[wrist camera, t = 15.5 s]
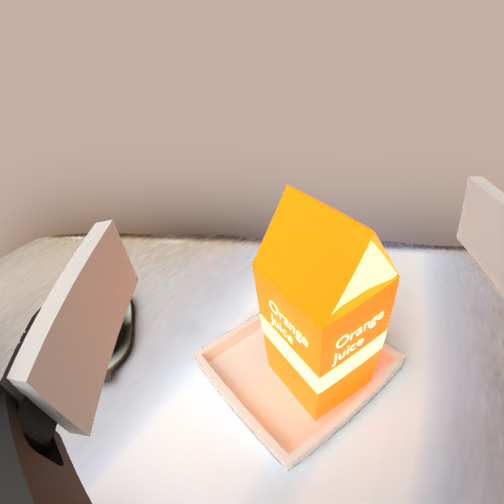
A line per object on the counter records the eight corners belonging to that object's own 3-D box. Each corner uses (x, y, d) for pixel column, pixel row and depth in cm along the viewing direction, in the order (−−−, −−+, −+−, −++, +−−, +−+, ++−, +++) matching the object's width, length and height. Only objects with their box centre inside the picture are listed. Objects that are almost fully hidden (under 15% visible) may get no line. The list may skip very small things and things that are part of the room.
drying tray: (302, 298, 42) (302, 285, 40) (400, 368, 30) (405, 356, 29) (197, 365, 35) (191, 353, 33) (287, 471, 23) (287, 465, 22)
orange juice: (314, 421, 27) (323, 259, 15) (267, 364, 33) (239, 199, 22) (372, 379, 29) (413, 210, 18) (322, 332, 36) (324, 169, 24)
